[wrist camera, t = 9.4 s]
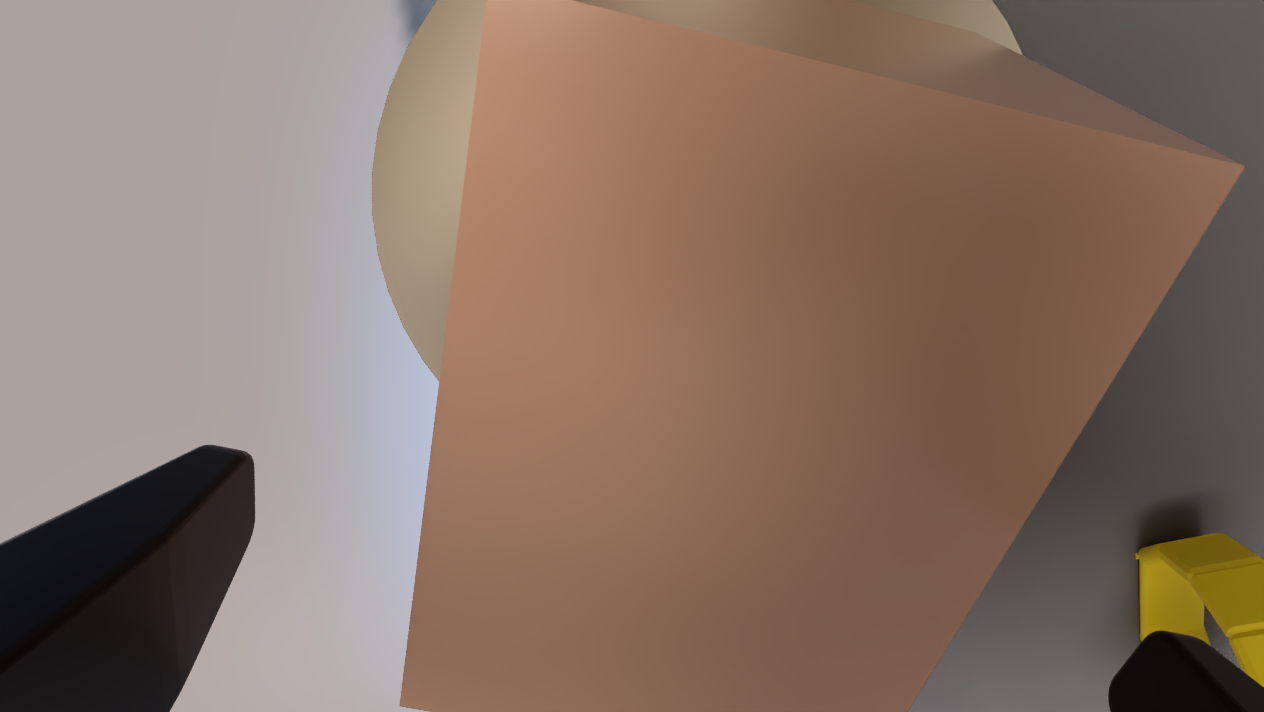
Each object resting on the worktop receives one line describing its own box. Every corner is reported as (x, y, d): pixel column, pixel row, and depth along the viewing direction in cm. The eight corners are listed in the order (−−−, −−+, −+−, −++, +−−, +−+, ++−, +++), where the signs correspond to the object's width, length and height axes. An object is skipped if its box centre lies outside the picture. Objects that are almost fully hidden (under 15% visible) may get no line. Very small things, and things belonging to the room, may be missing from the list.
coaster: (1172, -30, 13) (1190, -28, 12) (886, 532, 19) (892, 548, 18) (407, -231, 12) (397, -236, 11) (363, 427, 18) (355, 441, 17)
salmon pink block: (975, 31, 13) (1245, 165, 7) (794, 471, 17) (860, 787, 11) (577, -69, 12) (489, -20, 6) (496, 410, 17) (400, 706, 11)
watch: (1095, 502, 19) (1258, 724, 13) (1228, 475, 18) (1454, 696, 13) (1112, 688, 21) (1256, 939, 16) (1230, 669, 20) (1421, 922, 15)
